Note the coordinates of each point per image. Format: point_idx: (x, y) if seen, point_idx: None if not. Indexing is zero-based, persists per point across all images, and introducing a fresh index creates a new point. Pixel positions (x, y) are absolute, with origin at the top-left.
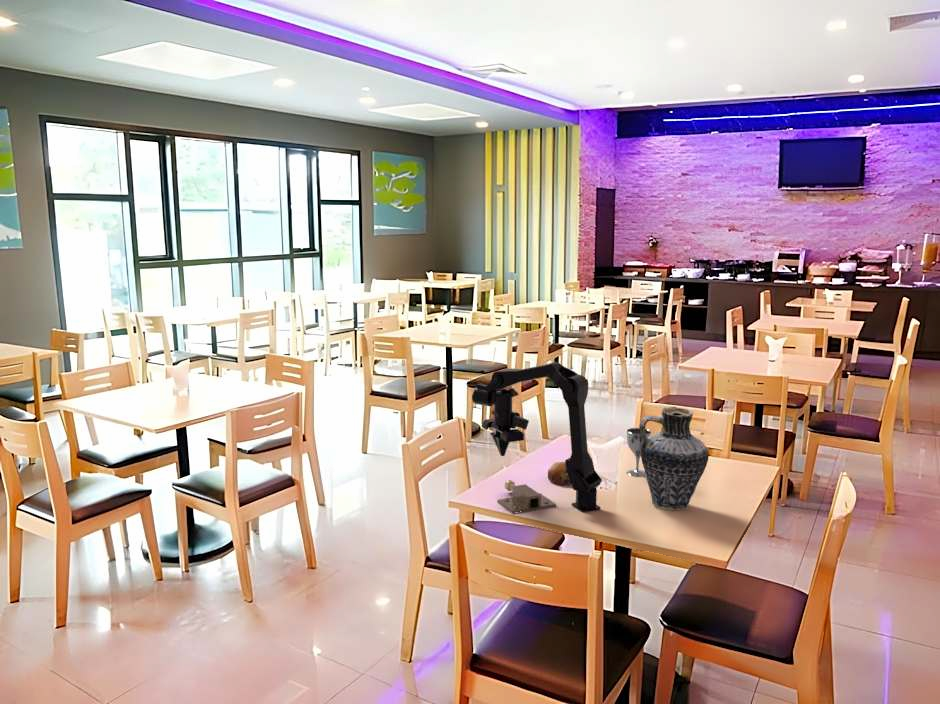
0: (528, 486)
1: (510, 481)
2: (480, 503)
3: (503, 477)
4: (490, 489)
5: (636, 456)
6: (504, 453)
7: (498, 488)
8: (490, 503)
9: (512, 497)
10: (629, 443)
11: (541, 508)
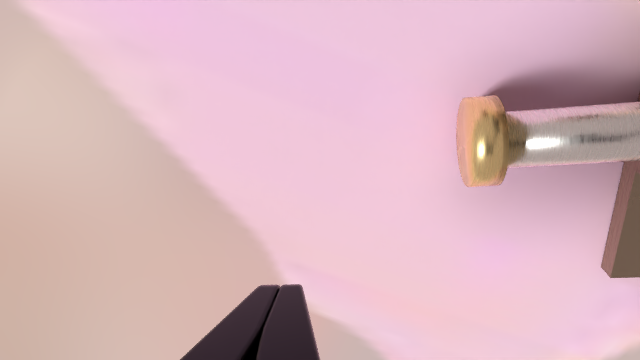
0: None
1: (507, 158)
2: (559, 347)
3: (127, 44)
4: (357, 222)
5: None
6: (307, 319)
7: (356, 169)
8: (593, 304)
9: (637, 172)
10: None
11: None
